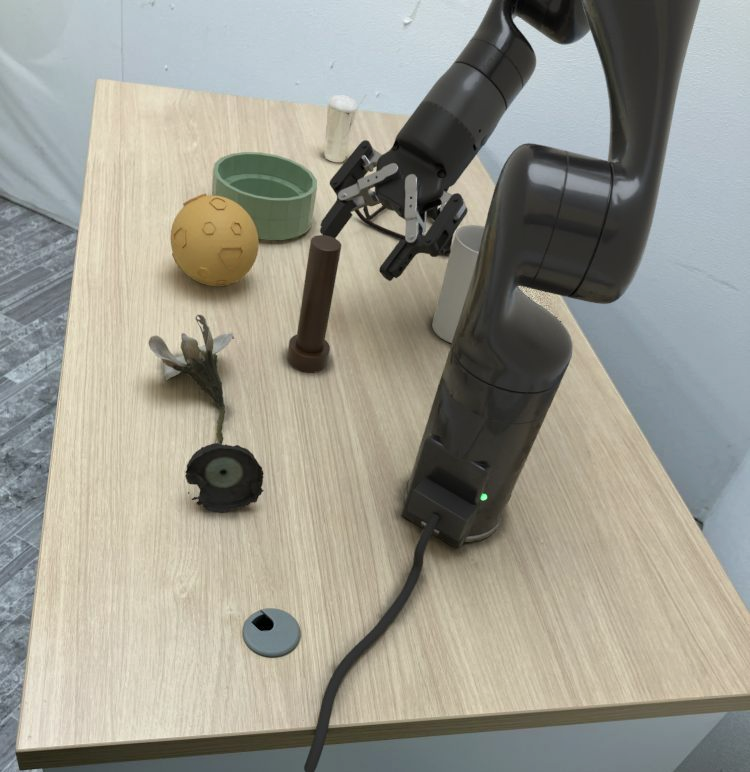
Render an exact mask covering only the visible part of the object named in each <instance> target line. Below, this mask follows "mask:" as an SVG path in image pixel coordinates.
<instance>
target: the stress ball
mask: <svg viewBox="0 0 750 772" xmlns="http://www.w3.org/2000/svg"><path fill="white" fill-rule="evenodd" d="M182 205H183V207H182V208H181V209H180V210H179V212H177V214H176V216H175V217H174V220H173V222H172V226H171V229H170V237H169V238H170V247H171V251H172V253H171V255H172V258H173V261H174V262H175V264H176V266H177V268H179V269H180V270H181V271H183V272H184V273H185V274H186V275H187V276H188V277H189V278H190V279H192V280H194V281H196V282H198V283H200V284H201V285H204V286H205V285H206V286H210V287H224V286H229V285H231V284H235V283H237V282H238V281H240V280H242V279H243V278H244V277H245V276H246V275H247V274H248V273H249V272H250V271H251V269H252V268H253V267H254V264H255V262H256V259H257V257H258V252H259V242H260V241H259V240H260V239H258V233H257V230H256V227H255V224H254V222H253V220H252V219H251V217H250V215H249V214H248V213H247V212H246V211H245V210H244V209H243V208H242V207H241V206H240V205H239V204H237V203H236V202H234V201H232V200H230V199H228V198H225V197H221V196H212V195H207V193H202V194H199V195H197V196H195V197H193V198H191V199H188V200H186V201H185V202H183V203H182Z"/></svg>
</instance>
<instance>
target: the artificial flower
mask: <svg viewBox="0 0 750 772" xmlns="http://www.w3.org/2000/svg"><path fill="white" fill-rule="evenodd" d="M198 318H199V319H198ZM195 321H196V323H197V325H198V326H199V329H200V333H201V335H202V339H203V343H204V344H203V345H200V346H199V341H197V339H195V338H193V337H190V336H188V335H187V334H186V333H185V332H183V333H182V332H181V335H180V336H181V342H180V350H181V354H180V355H177V356H174V355H173V354H172V352H171V351H170V349H169V347H168V346H167V343H166V341H164V339H163V338H162V337H160V336H159V335H151V336H150V337H149V338H148V343H147V344H148V347H149V349H150V350H151V351H152V352H153V354H154V355H155V357H157V358H159V359H161V361H162V363H163V364H164V367H163V369H164V374H163V375H164V379H165V380H166V381H168V380H170V379H172V378H174V377H176V376H178V375H179V374H181V373H183V374H186V375H187V376H188V377H189V378H191V379H192V381H194V383H195V384H196V385H197V386H198V387H199V388H200V390H201V391H202V392H203V393H204V394H206V395H207V396H208V397H209V399H212V400H213V402H214V403H215V404H216V405H217V406H218V408H219V415H218V420H217V425H216V439H217V442H215V443H212V444H207V445H205V446H201V448H199V449H198V450H195V452H194V453H193V454H192V455H191V457H190V459H189V460H188V462H187V463H186V470H185V471H184V472H185V476H184V477H185V480H186V483H188V484H189V485H195V486H197V487H198V489H199V493H198V496H194V497H193V498H191V501H196V500H197V501H196V502H195V503H196V505H197V506H202V508H204V509H205V510H206V511H209V512H217V513H228V512H230V511H232V510H237V509H238V510H239V509H242V508H245V507H246V506H249V505H250V504H256V503H257V502H258V499H259V496H260V497H261V496H262V493H263V492H264V491H265V490H264V489H263V488H262V487H263V483H264V474H265V473H264V470H263V466H261V465H260V463H259V462H258V460H257V458H256V457H255V456H254V454H253V453H252V452H251V451H250V450H249V449H247V448H246V447H242V446H241V445H238V444H235V445H229V444H226V443H225V444H223V441H224V436H223V435H224V434H223V432H222V431H223V424H224V419H225V413H226V410H225V409H226V407H225V406H226V405H225V401H224V390H223V382H222V379H221V377H220V375H219V370H218V353H219V352H221V351H222V350H223V349H225V348H226V347H227V346H228V345H229V344H230V343H231V341H232V340H233V339H235V336H234V334H233V332H228V333H222V334H219V335H217V336H216V337H214V338H213V335H212V332H211V329H210V326H209V325H208V323H207V319H206V317H205V315H202V314H197V315H196V316H195ZM201 325H202V326H201ZM189 494H190V491H188V492H187V495H189Z"/></svg>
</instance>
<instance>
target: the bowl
mask: <svg viewBox="0 0 750 772" xmlns="http://www.w3.org/2000/svg"><path fill="white" fill-rule="evenodd" d="M211 183H212V185H211V196H221V197H225V198H228V199H230V200H232V201H234V202H236V203H237V204H239V205H240V206H241V207H242V208H243V209H244V210H245V211H246V212H247V213H248V214H249V215H250V217H251V219H252V220H253V222H254V224H255V227H256V230H257V233H258V240H266V241H285V240H290V239H295V238H298V237H300V236H302V235H304V234H306V233H308V231H309V230H310V229H311V227H312V225H313V217H314V210H315V203H316V198H317V190H318V179H317V178H316V177H315V175H314V173H313V172H312V171H311V170H309V169H308V168H307V167H306V166H304V165H302V164H300V163H298V162H296V161H295V160H292V159H290V158H287V157H283V156H281V155H277V154H273V153H265V152H261V151H260V152H257V151H242V152H235V153H234V152H233V153H229V154H226V155H224V156H222V157H220V158H218V160H216V161H215V162H214V164H213V169H212V182H211Z"/></svg>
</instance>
